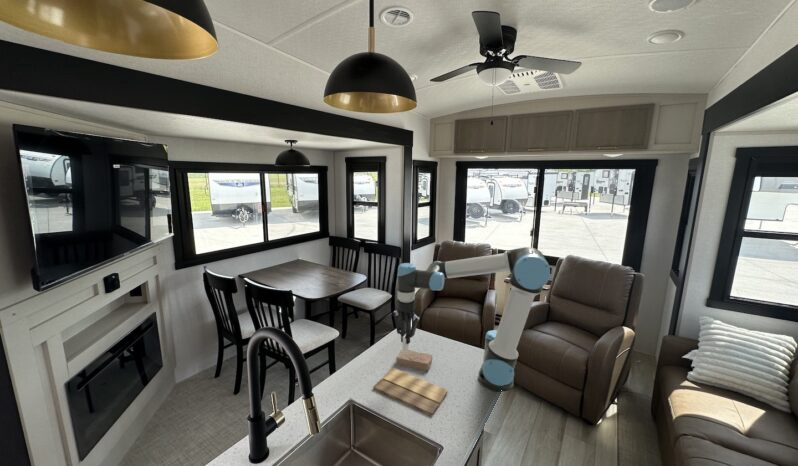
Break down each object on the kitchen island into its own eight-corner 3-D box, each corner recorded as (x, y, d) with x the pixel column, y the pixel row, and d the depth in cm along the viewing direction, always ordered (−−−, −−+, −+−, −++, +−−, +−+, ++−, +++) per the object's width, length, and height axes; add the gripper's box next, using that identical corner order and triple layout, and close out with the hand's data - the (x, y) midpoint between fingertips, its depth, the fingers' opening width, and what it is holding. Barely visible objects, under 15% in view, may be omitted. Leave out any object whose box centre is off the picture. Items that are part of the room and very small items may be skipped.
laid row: (438, 406, 124) (438, 403, 124) (432, 416, 119) (432, 413, 118) (381, 381, 138) (381, 378, 138) (373, 389, 133) (373, 386, 133)
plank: (447, 392, 131) (447, 389, 131) (439, 405, 125) (439, 402, 124) (392, 369, 145) (392, 367, 145) (382, 380, 139) (382, 377, 139)
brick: (395, 364, 151) (395, 356, 150) (401, 355, 159) (401, 347, 158) (428, 372, 145) (428, 363, 145) (432, 362, 153) (433, 354, 152)
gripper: (423, 299, 133) (422, 349, 137) (397, 293, 139) (397, 341, 144) (415, 305, 126) (414, 358, 131) (388, 299, 133) (388, 349, 137)
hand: (405, 349), depth 137 cm, fingers closed
